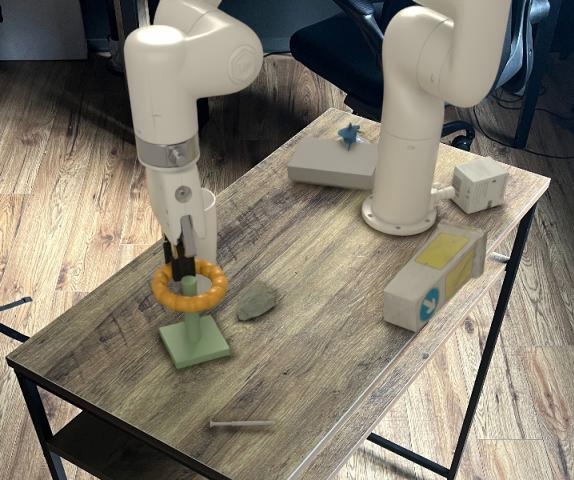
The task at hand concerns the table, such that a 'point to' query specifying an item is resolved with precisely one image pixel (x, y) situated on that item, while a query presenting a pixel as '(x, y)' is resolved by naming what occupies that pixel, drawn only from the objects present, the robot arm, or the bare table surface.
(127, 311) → the table surface
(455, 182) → the product carton
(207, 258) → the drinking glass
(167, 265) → the ring
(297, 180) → the flat grey box
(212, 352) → the rack
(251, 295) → the rock
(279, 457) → the table surface
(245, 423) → the wall anchor
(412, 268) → the toppled traffic bollard
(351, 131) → the toy figurine
